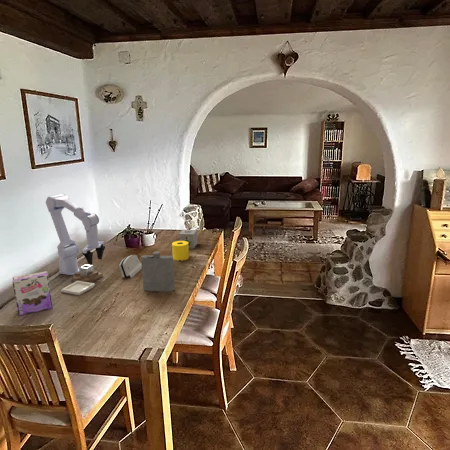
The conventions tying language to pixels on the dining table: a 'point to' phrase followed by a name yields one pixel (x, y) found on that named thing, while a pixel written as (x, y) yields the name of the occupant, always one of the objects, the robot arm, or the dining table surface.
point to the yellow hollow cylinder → (180, 250)
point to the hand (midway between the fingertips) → (95, 261)
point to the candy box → (32, 293)
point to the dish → (78, 287)
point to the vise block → (90, 278)
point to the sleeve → (86, 270)
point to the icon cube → (189, 237)
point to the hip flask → (157, 272)
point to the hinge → (130, 266)
